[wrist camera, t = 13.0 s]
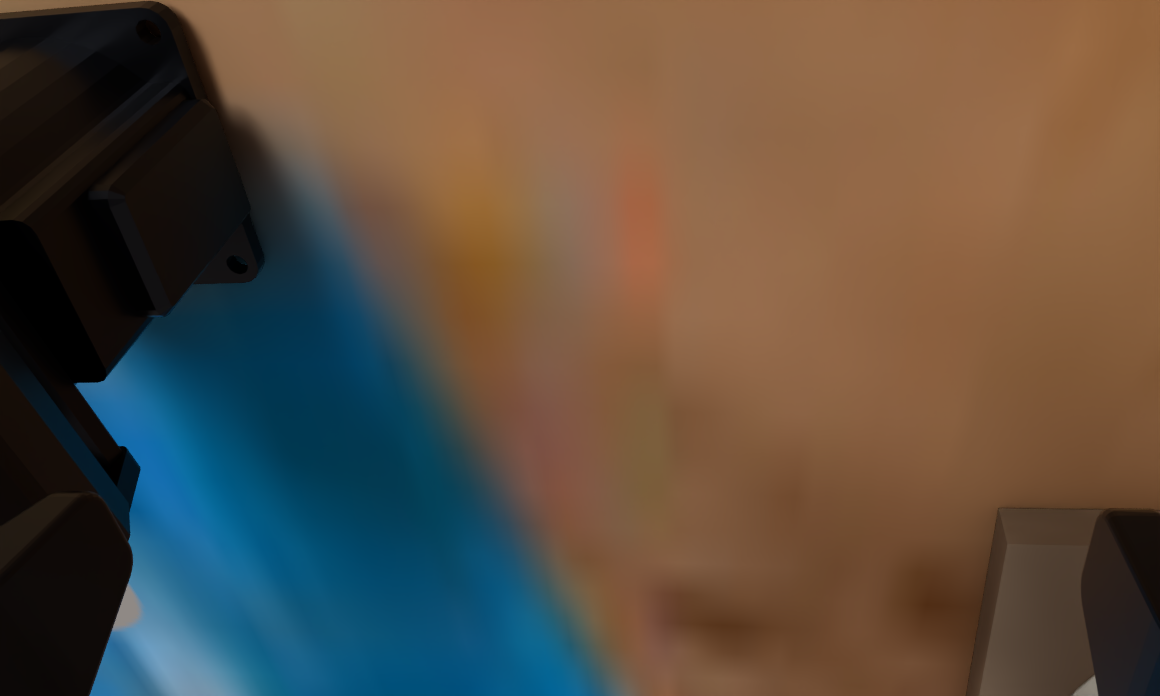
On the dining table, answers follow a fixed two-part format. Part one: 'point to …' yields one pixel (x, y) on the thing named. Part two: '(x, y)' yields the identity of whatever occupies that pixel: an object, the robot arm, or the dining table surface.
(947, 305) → the dining table surface
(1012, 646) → the grey flat square slab
